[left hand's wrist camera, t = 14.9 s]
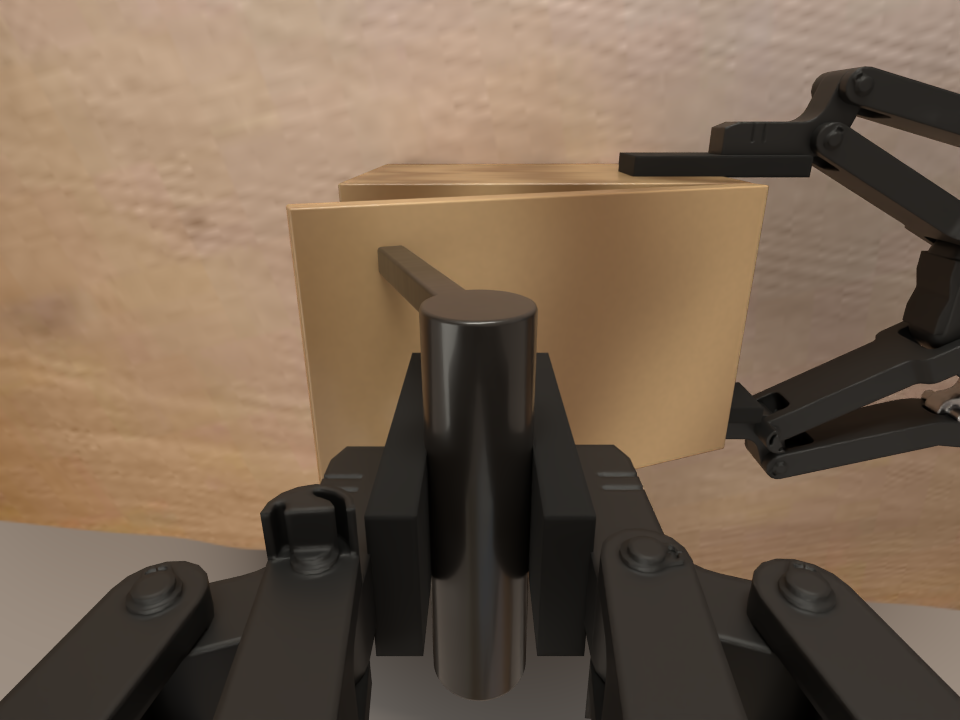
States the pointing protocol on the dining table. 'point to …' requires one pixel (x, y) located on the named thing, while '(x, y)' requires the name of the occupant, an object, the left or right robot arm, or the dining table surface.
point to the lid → (520, 359)
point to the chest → (500, 180)
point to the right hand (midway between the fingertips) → (615, 292)
